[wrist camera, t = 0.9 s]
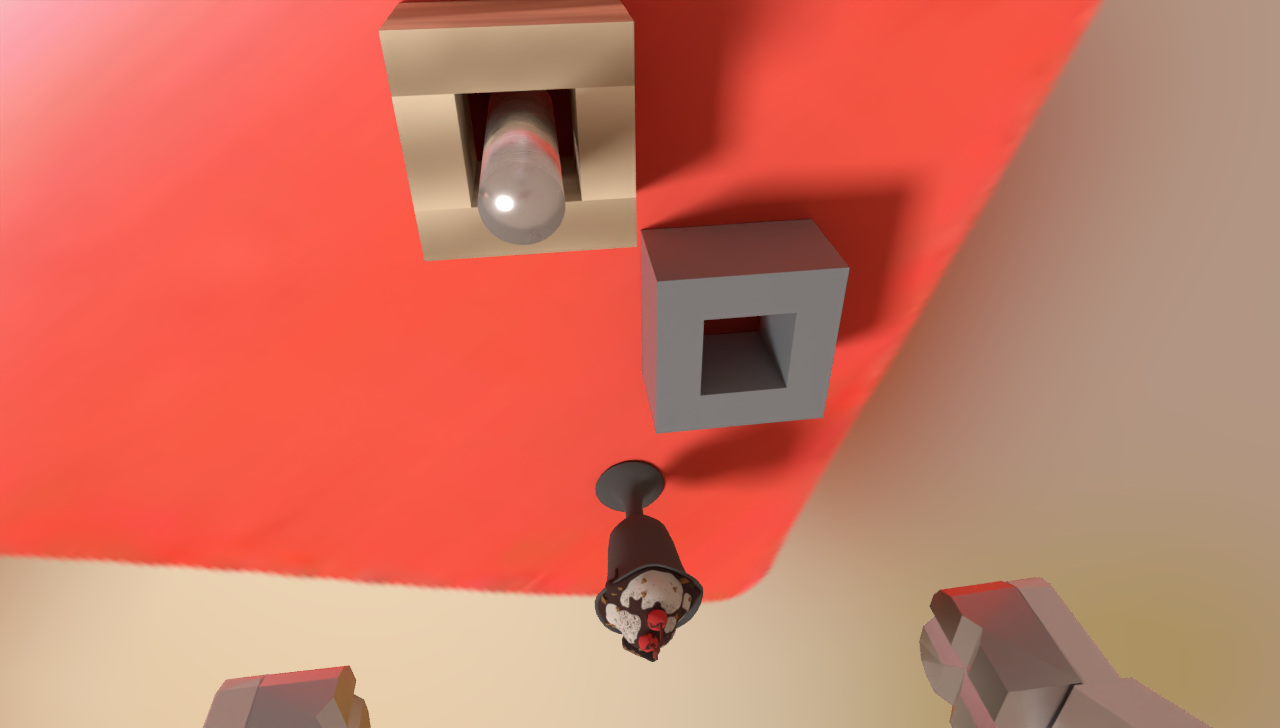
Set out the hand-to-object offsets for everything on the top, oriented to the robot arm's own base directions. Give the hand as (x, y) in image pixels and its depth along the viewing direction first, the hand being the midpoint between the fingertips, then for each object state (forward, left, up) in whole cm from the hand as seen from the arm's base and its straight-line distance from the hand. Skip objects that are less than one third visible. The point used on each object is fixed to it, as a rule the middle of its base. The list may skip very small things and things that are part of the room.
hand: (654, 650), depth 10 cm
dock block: (+14, +9, -32) cm, 36 cm away
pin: (+2, -2, -32) cm, 32 cm away
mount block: (+2, -2, -32) cm, 32 cm away
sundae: (+29, +3, -32) cm, 43 cm away
